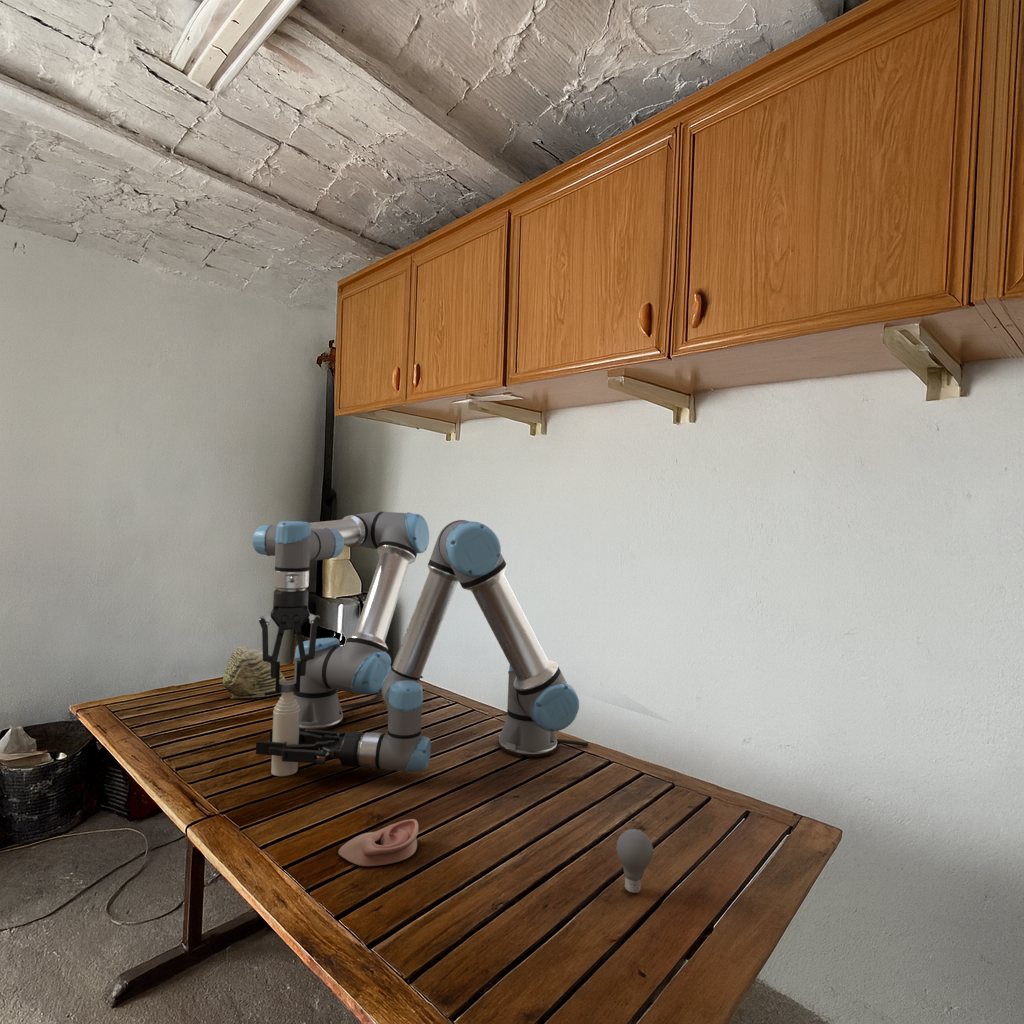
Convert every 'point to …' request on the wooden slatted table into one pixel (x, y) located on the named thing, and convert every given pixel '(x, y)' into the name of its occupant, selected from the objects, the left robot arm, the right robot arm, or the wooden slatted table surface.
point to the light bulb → (634, 857)
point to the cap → (287, 686)
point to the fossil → (249, 674)
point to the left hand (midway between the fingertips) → (287, 690)
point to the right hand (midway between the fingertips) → (264, 741)
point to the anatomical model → (382, 845)
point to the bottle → (285, 732)
